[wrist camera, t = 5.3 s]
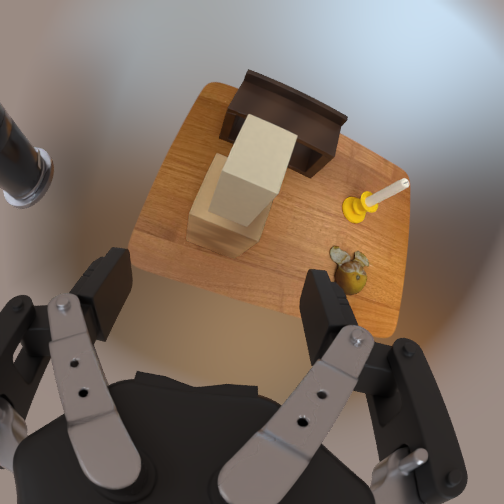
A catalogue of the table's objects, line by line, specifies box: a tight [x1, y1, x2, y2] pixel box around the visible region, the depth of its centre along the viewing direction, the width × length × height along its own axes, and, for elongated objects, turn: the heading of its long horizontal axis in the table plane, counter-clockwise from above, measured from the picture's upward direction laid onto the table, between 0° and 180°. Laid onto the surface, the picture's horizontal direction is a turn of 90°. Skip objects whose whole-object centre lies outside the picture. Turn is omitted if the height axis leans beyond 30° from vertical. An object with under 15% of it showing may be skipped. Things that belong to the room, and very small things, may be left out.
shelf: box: [219, 69, 348, 178], centre depth 44 cm, size 18×8×11 cm, turn 71°
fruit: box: [330, 246, 369, 295], centre depth 47 cm, size 8×8×4 cm
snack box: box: [208, 114, 297, 227], centre depth 26 cm, size 4×6×10 cm
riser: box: [186, 153, 273, 259], centre depth 37 cm, size 8×8×14 cm
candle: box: [342, 178, 409, 223], centre depth 43 cm, size 5×5×16 cm
